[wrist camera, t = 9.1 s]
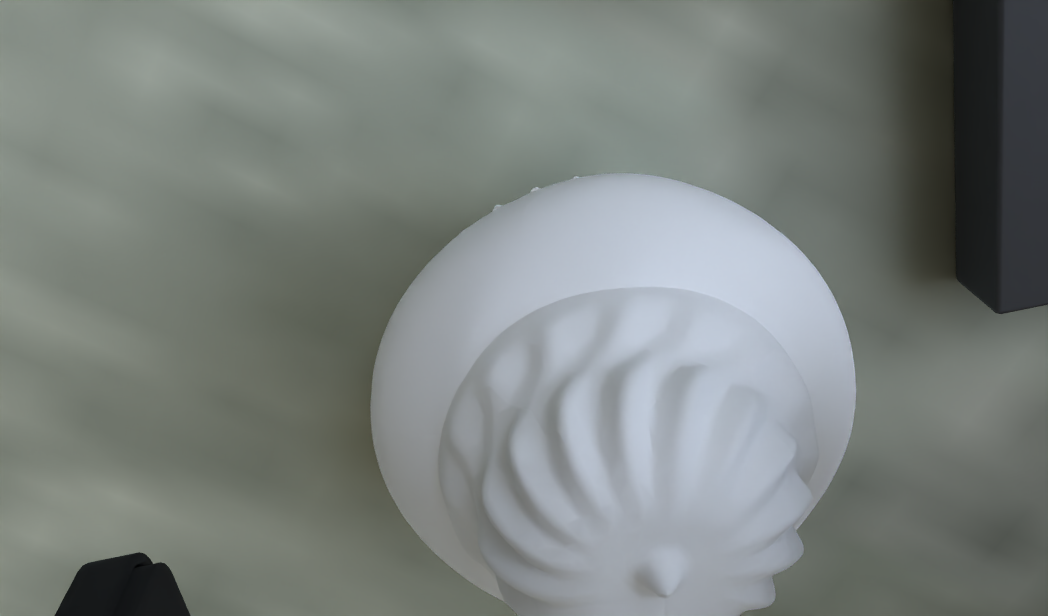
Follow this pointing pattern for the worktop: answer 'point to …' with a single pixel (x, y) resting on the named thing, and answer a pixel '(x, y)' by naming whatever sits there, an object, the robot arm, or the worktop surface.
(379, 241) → the worktop surface
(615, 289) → the muffin
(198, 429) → the worktop surface
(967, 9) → the scale
